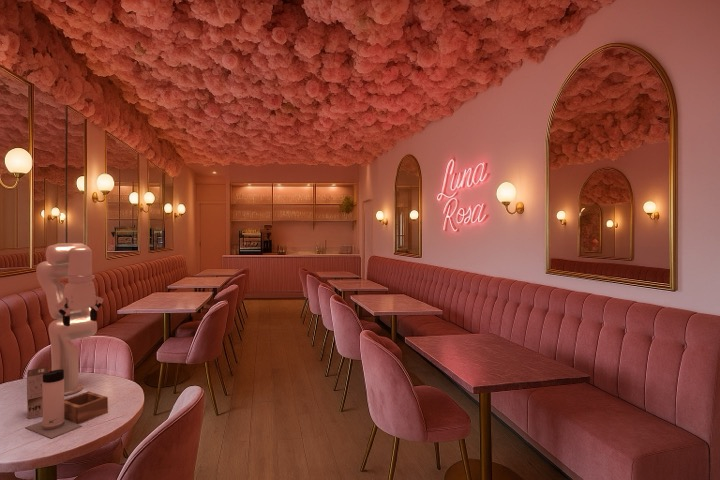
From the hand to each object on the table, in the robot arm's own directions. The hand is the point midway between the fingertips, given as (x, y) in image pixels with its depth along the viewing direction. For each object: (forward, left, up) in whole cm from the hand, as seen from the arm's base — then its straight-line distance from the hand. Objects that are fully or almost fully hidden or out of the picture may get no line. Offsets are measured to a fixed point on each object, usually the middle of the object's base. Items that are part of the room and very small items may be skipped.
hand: (80, 323), depth 165 cm
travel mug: (+7, -13, -34) cm, 37 cm away
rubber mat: (+7, -13, -34) cm, 37 cm away
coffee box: (-11, -9, -34) cm, 37 cm away
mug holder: (+6, -2, -34) cm, 35 cm away
